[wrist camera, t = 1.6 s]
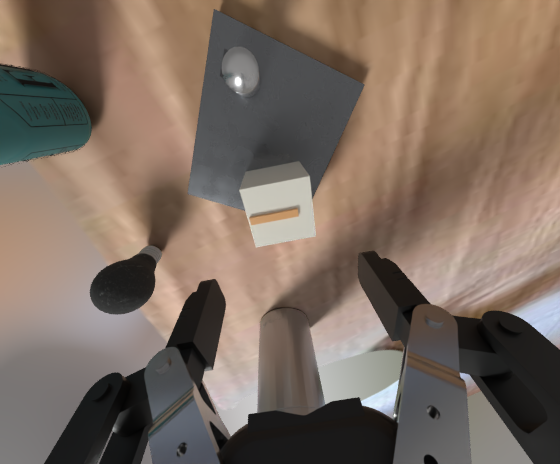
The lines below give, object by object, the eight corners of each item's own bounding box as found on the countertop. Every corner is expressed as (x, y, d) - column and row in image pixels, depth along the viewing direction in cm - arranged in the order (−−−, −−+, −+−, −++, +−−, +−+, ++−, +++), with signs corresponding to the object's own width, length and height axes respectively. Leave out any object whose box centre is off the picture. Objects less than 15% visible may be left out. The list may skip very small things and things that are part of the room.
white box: (299, 161, 22) (310, 177, 16) (305, 210, 25) (316, 237, 20) (245, 171, 22) (238, 190, 17) (258, 219, 25) (255, 249, 20)
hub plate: (358, 86, 20) (390, 77, 15) (297, 221, 28) (305, 246, 22) (217, 16, 17) (197, -26, 12) (191, 189, 24) (171, 209, 19)
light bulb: (124, 238, 27) (59, 296, 19) (161, 227, 27) (112, 281, 18) (149, 269, 30) (102, 331, 21) (183, 259, 30) (150, 318, 21)
